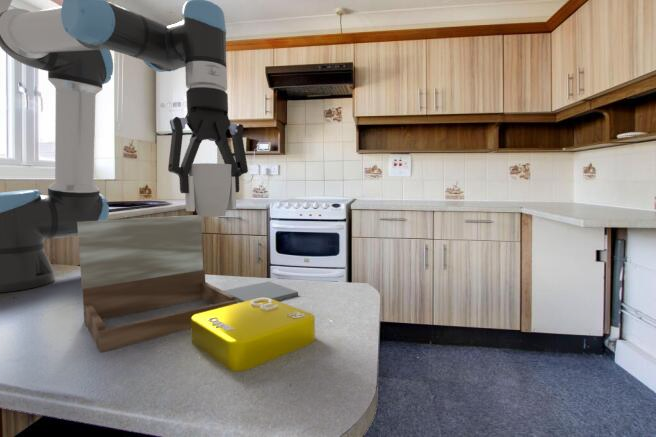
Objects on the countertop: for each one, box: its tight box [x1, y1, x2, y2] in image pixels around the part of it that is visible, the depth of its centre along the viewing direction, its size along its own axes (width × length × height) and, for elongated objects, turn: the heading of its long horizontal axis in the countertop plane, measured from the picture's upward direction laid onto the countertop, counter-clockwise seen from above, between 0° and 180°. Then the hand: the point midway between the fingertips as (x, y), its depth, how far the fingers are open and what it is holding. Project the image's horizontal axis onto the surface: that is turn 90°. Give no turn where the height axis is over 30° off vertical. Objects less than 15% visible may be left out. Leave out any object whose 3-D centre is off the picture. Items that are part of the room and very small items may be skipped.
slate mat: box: [223, 281, 299, 303], centre depth 80 cm, size 12×12×1 cm
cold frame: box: [77, 214, 239, 353], centre depth 65 cm, size 17×22×18 cm
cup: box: [188, 162, 231, 218], centre depth 70 cm, size 8×8×10 cm
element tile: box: [190, 297, 316, 372], centre depth 57 cm, size 15×15×5 cm
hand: (211, 209), depth 71 cm, fingers closed on cup, 8 cm apart
